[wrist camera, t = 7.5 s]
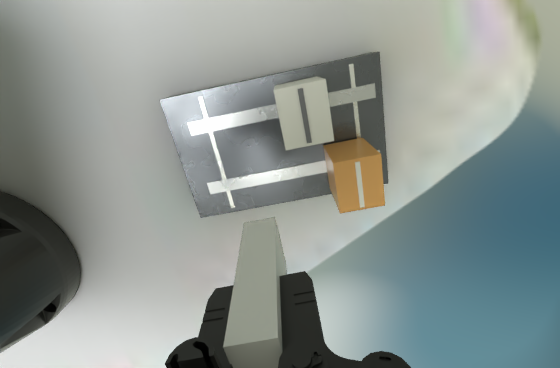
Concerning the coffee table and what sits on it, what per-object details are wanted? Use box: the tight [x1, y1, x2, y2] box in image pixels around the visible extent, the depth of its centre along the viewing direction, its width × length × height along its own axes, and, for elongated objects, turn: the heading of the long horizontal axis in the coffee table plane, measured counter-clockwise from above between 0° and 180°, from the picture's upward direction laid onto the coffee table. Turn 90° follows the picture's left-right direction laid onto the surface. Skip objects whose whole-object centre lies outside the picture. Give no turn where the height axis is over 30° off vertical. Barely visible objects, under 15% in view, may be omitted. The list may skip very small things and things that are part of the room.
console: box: [160, 52, 388, 218], centre depth 23 cm, size 16×10×2 cm, turn 102°
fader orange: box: [323, 138, 385, 213], centre depth 21 cm, size 3×4×4 cm
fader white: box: [273, 76, 334, 150], centre depth 19 cm, size 3×4×4 cm
